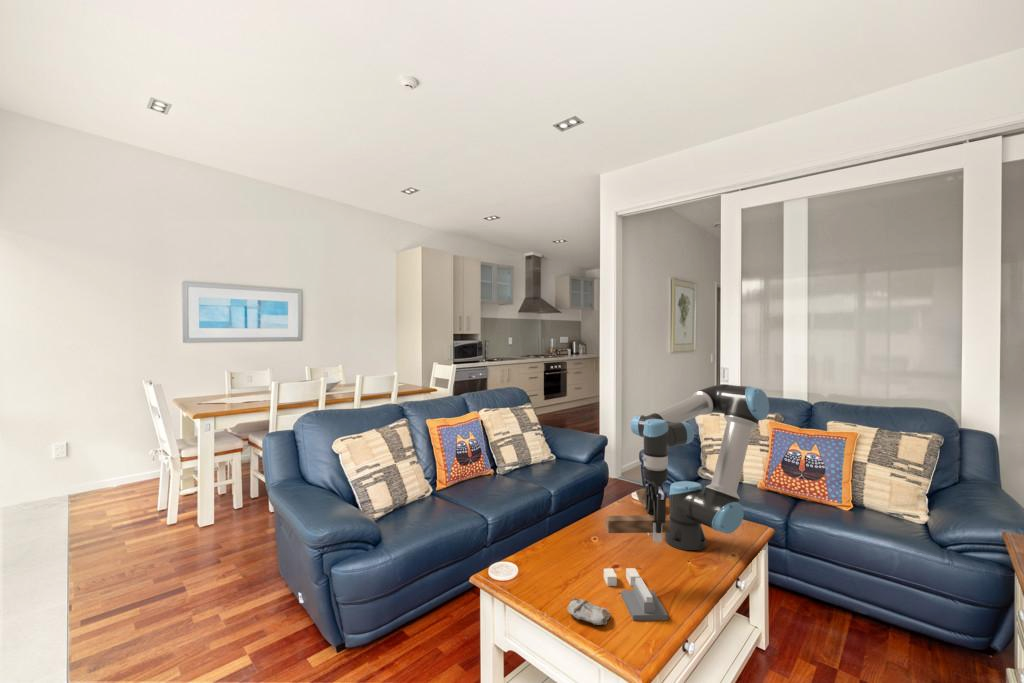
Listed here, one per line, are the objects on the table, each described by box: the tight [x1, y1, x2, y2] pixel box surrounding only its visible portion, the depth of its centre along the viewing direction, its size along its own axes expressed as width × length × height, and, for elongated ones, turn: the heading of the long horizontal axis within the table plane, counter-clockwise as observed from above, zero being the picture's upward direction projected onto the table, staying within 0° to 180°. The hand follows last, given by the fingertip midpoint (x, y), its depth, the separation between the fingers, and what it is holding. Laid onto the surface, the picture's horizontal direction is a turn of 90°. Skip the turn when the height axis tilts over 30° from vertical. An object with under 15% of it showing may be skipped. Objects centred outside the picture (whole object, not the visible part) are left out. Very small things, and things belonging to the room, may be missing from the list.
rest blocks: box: [603, 567, 641, 587], centre depth 143 cm, size 10×5×3 cm, turn 92°
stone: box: [566, 598, 611, 626], centre depth 125 cm, size 12×9×3 cm
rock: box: [635, 488, 645, 507], centre depth 202 cm, size 12×12×10 cm
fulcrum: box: [620, 577, 669, 621], centre depth 130 cm, size 10×12×6 cm
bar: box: [604, 514, 670, 534], centre depth 143 cm, size 20×4×4 cm, turn 92°
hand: (654, 538), depth 143 cm, fingers closed on bar, 4 cm apart
